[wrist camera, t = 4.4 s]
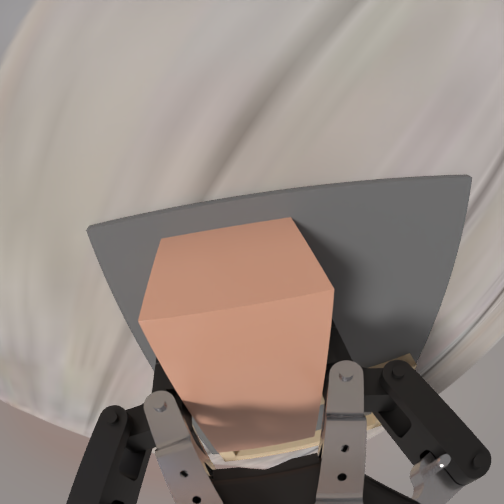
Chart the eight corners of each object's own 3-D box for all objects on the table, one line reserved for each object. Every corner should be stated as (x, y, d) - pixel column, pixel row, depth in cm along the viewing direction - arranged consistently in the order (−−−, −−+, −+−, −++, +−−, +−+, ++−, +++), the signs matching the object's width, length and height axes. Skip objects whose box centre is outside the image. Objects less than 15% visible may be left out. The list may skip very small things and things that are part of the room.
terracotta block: (161, 238, 10) (137, 321, 7) (290, 217, 11) (334, 288, 7) (213, 385, 16) (217, 452, 12) (295, 372, 16) (314, 436, 12)
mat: (89, 225, 10) (74, 244, 9) (467, 174, 11) (487, 185, 10) (212, 450, 22) (213, 464, 21) (386, 411, 23) (392, 423, 22)
